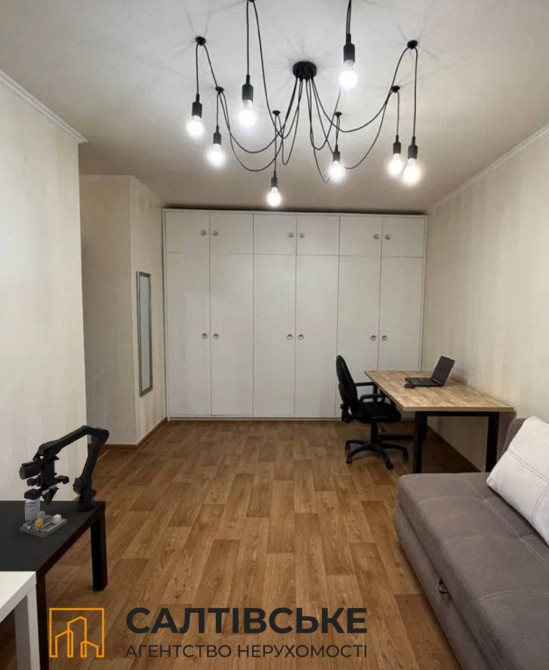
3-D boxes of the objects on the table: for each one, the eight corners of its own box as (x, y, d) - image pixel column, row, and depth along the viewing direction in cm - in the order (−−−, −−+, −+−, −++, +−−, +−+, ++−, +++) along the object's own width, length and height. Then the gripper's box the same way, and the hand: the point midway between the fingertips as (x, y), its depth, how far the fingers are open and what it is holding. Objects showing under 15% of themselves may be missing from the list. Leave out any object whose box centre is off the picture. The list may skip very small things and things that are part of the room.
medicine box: (29, 512, 175) (29, 495, 175) (40, 510, 177) (40, 493, 176) (24, 521, 168) (24, 503, 167) (36, 519, 169) (35, 501, 169)
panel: (44, 516, 171) (44, 511, 171) (67, 522, 167) (67, 517, 167) (19, 531, 160) (19, 525, 160) (44, 537, 156) (43, 532, 156)
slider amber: (40, 523, 163) (40, 517, 163) (44, 524, 162) (44, 518, 162) (33, 527, 160) (33, 521, 160) (38, 528, 159) (37, 522, 159)
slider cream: (57, 519, 166) (57, 513, 166) (62, 520, 166) (61, 514, 165) (52, 523, 163) (52, 517, 163) (56, 524, 163) (56, 518, 163)
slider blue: (42, 515, 169) (42, 510, 169) (46, 516, 168) (46, 511, 168) (36, 519, 166) (36, 513, 166) (40, 520, 166) (40, 514, 165)
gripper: (52, 461, 176) (52, 492, 177) (14, 477, 158) (14, 512, 159) (70, 464, 172) (70, 496, 173) (33, 481, 155) (34, 517, 155)
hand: (48, 505), depth 165 cm, fingers closed
